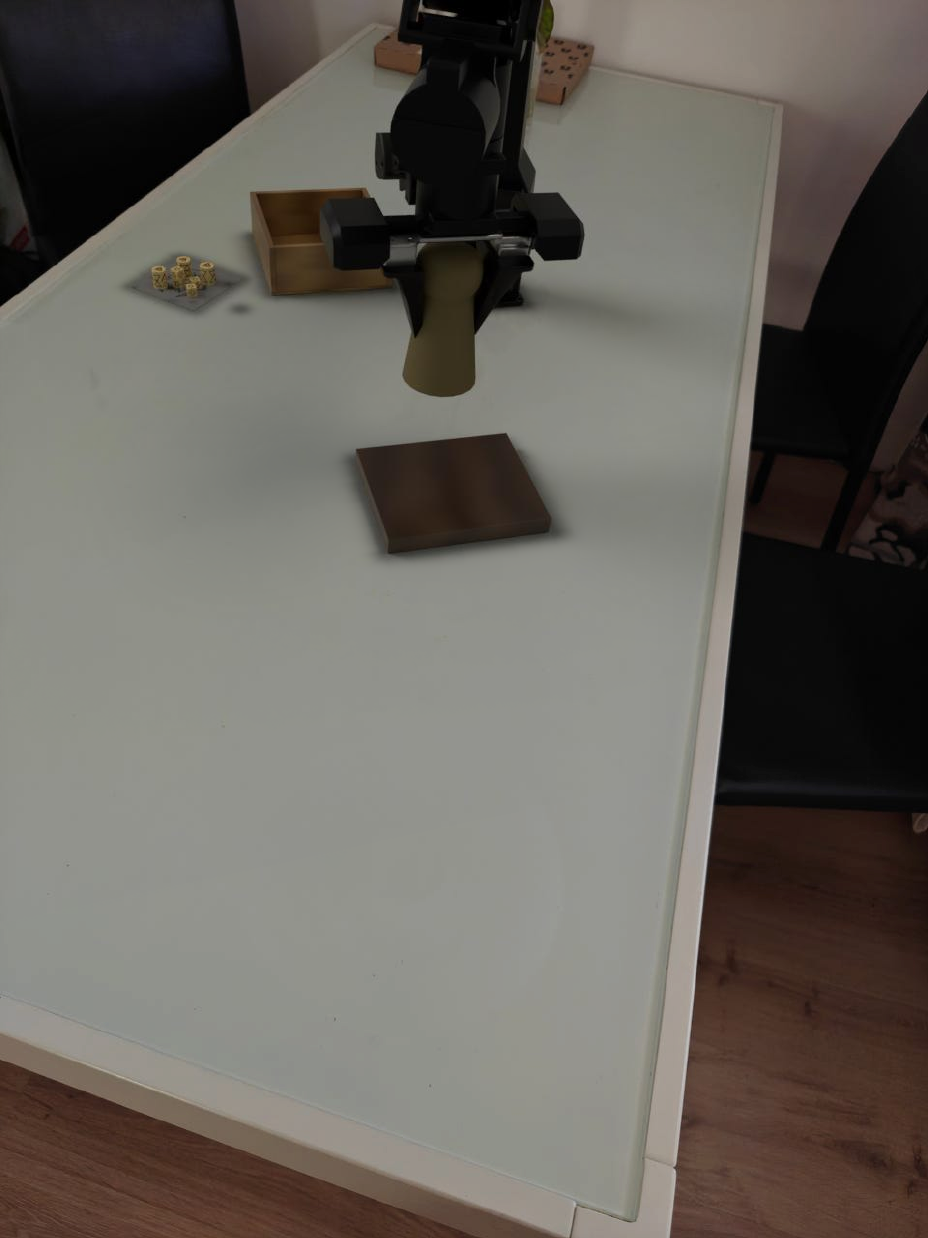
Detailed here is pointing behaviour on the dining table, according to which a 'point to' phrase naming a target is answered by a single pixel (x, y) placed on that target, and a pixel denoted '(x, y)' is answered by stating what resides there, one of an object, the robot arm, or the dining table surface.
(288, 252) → the wooden box
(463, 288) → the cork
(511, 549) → the dining table surface
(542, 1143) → the dining table surface
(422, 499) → the walnut board
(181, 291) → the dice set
